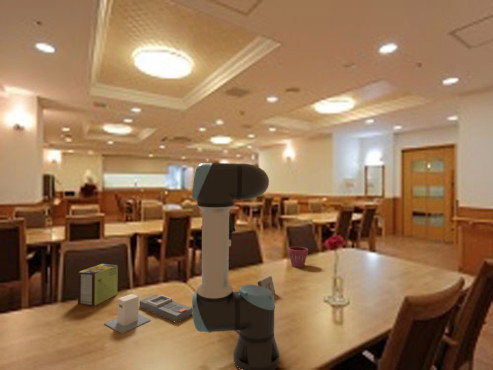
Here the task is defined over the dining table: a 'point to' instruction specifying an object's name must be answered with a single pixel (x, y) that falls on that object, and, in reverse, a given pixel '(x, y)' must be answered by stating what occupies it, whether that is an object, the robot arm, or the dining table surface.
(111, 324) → the mat
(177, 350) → the dining table surface
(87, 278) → the protein box
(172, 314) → the power strip
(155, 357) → the dining table surface
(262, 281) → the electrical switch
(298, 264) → the plant pot
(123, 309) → the charger
